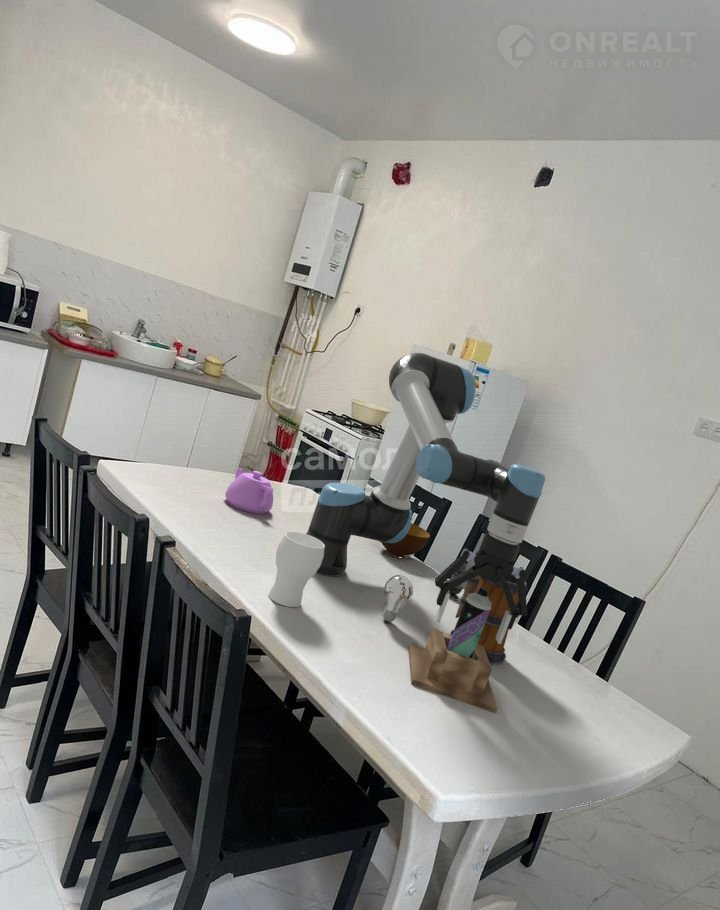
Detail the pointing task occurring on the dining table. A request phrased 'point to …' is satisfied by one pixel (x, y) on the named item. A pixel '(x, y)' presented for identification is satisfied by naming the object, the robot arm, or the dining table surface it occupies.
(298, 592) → the cup
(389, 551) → the bowl
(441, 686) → the socket block
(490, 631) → the mug
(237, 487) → the teapot
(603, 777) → the dining table surface
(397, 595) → the light bulb
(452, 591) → the dark grey chess piece
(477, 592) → the spray can
